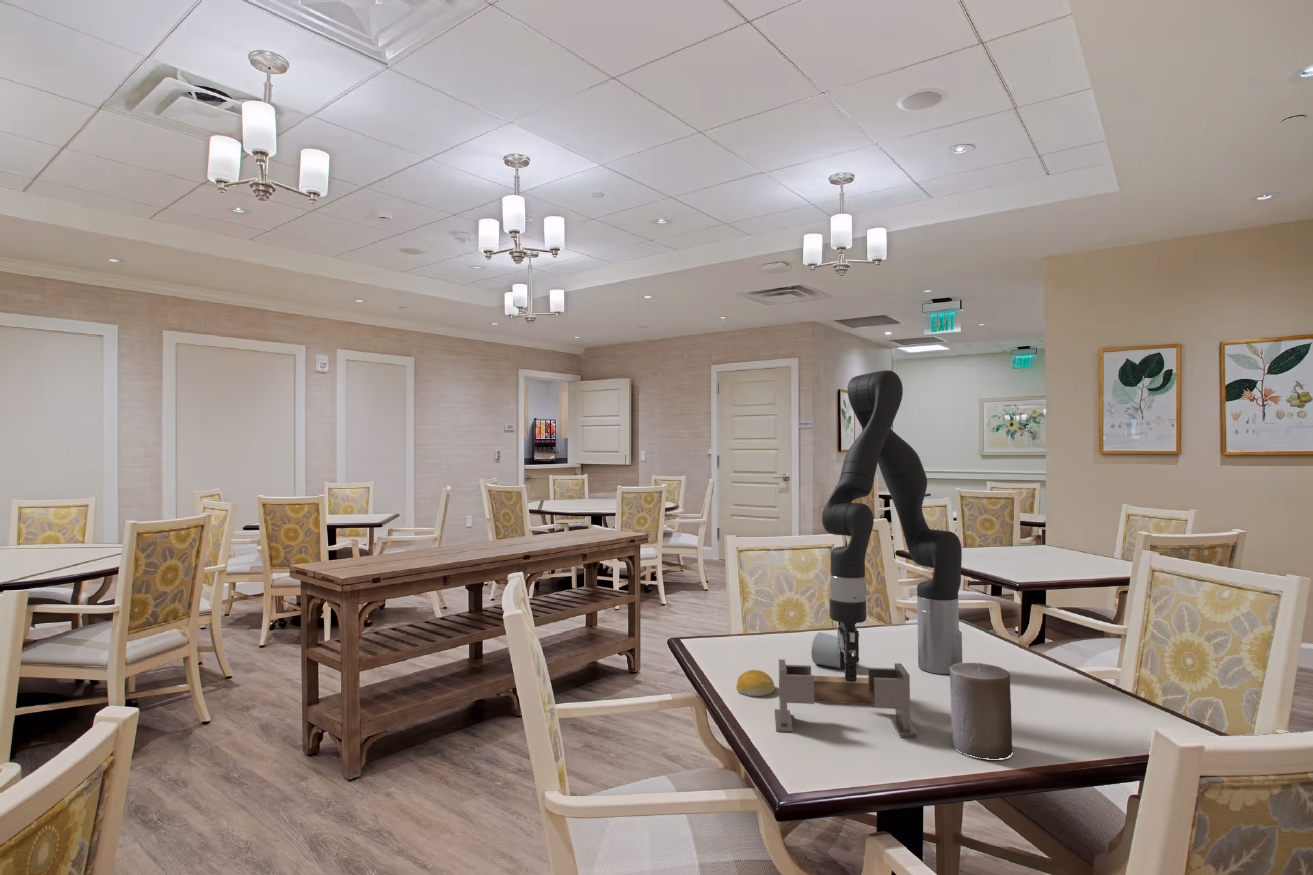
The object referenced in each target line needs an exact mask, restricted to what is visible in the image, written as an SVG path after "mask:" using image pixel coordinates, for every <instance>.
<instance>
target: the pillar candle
mask: <svg viewBox="0 0 1313 875" xmlns="http://www.w3.org/2000/svg"><path fill="white" fill-rule="evenodd" d="M949 669H950V674H949V681H950V683H949V684H950V687H949V688H950V712H951V713H950V715H951V716H950V719H951V723H950V724H951V743H952V747H953V748H954V750H956V749H957V750H958V751H960V752H962V753H965V754H967V755H972V756H975V757H978V758H979V757H980V758H989V759H999V758H1006V757H1008V756H1009V755H1011V753H1012V752H1013V753H1014V750H1013V737H1012V736H1013V731H1012V730H1013V729H1012V726H1013V725H1012V702H1011V701H1012V700H1011V699H1012V698H1011V695H1012V694H1011V693H1012V692H1011V677H1010V675H1011V674H1010V672H1009V671H1008V670H1007V669H1004V668H1003V667H1000V666H997V665H993V664H987V663H980V662H962V663H959V664H954V665H953V666H950V668H949ZM958 751H957V752H958Z"/></svg>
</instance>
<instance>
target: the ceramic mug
mask: <svg viewBox="0 0 1313 875" xmlns="http://www.w3.org/2000/svg"><path fill="white" fill-rule="evenodd" d="M837 638H838V635H837V636H836V635H833V634H829V633H825V632H817V633H816V634H815V635H814V637H813V639H812V643H811V652H810V654H811V660H812V662H813V663H814V664H815V665H819V666H823V667H829V668H830V667H831V668H835V669H839V670H840V669H841V668H840V651H841V650H839V648H838V646H839V645H838V639H837ZM851 656H853V653H851ZM841 670H842V669H841Z"/></svg>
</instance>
